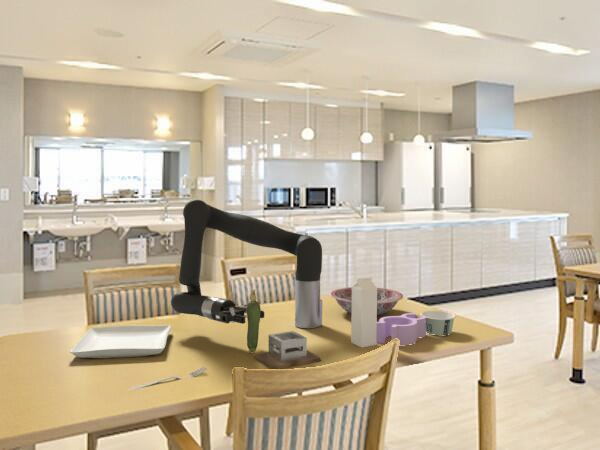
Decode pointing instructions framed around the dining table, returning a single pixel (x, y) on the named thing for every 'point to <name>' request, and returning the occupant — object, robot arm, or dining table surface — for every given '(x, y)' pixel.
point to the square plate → (122, 341)
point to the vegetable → (253, 322)
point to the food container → (439, 322)
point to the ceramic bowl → (384, 299)
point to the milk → (364, 313)
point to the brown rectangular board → (276, 364)
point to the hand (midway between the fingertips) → (254, 317)
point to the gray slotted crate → (287, 346)
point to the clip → (401, 328)
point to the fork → (169, 378)
